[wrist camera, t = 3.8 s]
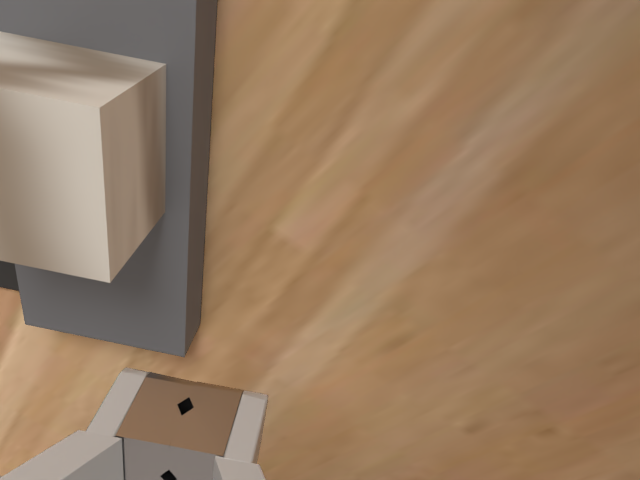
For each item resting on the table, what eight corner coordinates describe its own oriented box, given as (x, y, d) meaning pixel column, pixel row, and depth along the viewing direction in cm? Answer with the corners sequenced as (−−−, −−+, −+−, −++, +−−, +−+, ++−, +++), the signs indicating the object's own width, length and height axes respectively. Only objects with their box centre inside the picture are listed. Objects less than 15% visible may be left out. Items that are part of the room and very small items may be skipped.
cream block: (166, 64, 19) (99, 107, 15) (165, 211, 22) (110, 283, 18) (0, 31, 19) (-114, 65, 15) (23, 183, 22) (-66, 247, 18)
